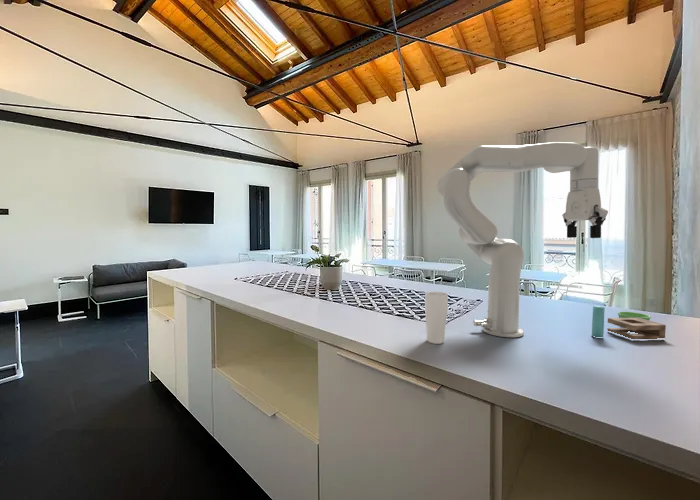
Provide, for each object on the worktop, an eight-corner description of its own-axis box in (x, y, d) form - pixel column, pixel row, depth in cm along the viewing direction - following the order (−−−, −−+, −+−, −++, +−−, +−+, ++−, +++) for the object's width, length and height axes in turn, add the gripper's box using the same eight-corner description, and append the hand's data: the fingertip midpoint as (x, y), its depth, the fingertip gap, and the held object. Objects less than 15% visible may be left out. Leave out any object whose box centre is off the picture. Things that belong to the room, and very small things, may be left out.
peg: (596, 338, 103) (598, 307, 102) (589, 335, 106) (590, 305, 105) (605, 338, 103) (607, 307, 103) (597, 335, 106) (599, 305, 106)
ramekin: (636, 323, 122) (637, 311, 121) (657, 330, 113) (657, 318, 112) (611, 322, 123) (611, 311, 122) (629, 329, 114) (630, 317, 113)
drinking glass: (447, 339, 102) (448, 292, 101) (446, 346, 95) (447, 296, 95) (425, 337, 104) (426, 291, 103) (423, 343, 98) (423, 294, 97)
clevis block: (632, 341, 101) (632, 325, 100) (607, 332, 110) (607, 318, 109) (664, 340, 101) (665, 325, 101) (637, 332, 110) (638, 317, 110)
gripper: (554, 189, 115) (553, 237, 116) (595, 182, 98) (594, 238, 99) (573, 189, 116) (573, 237, 117) (618, 181, 99) (617, 237, 99)
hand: (583, 237), depth 108 cm, fingers open, 9 cm apart
